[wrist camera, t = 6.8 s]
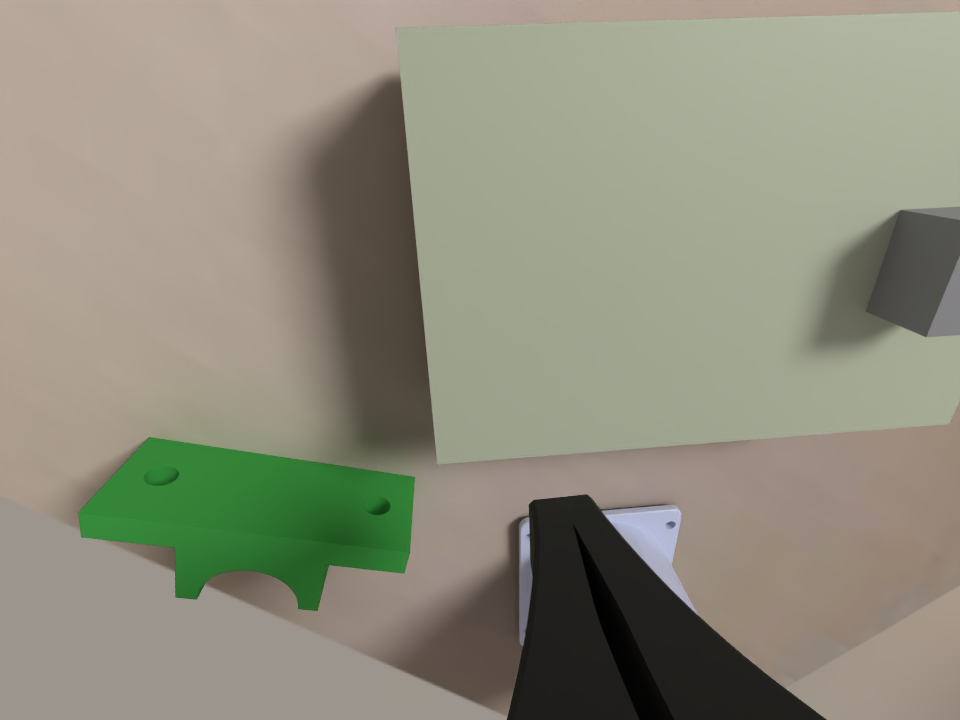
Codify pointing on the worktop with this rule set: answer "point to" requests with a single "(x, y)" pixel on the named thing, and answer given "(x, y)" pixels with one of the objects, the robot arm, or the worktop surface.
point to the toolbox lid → (685, 229)
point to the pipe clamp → (254, 515)
